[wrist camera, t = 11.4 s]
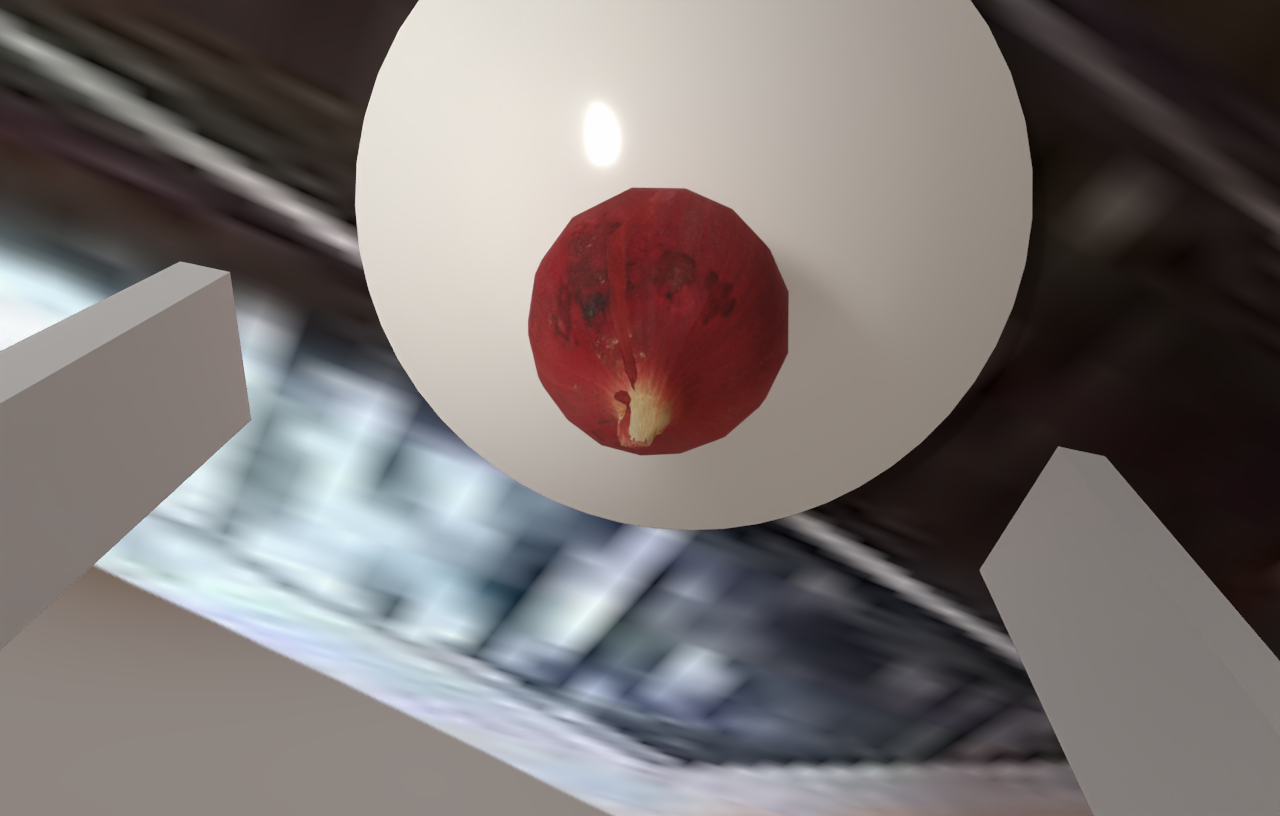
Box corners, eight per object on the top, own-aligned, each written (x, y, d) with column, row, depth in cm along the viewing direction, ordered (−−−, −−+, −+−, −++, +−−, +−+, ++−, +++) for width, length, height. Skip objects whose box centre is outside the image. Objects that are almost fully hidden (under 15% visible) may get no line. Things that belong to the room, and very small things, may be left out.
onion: (525, 221, 18) (406, 344, 11) (721, 116, 16) (720, 186, 10) (627, 394, 21) (579, 583, 14) (809, 318, 19) (859, 492, 12)
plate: (368, -213, 15) (341, -229, 14) (1161, -36, 15) (1193, -39, 14) (378, 447, 24) (363, 467, 23) (870, 553, 24) (876, 577, 23)
